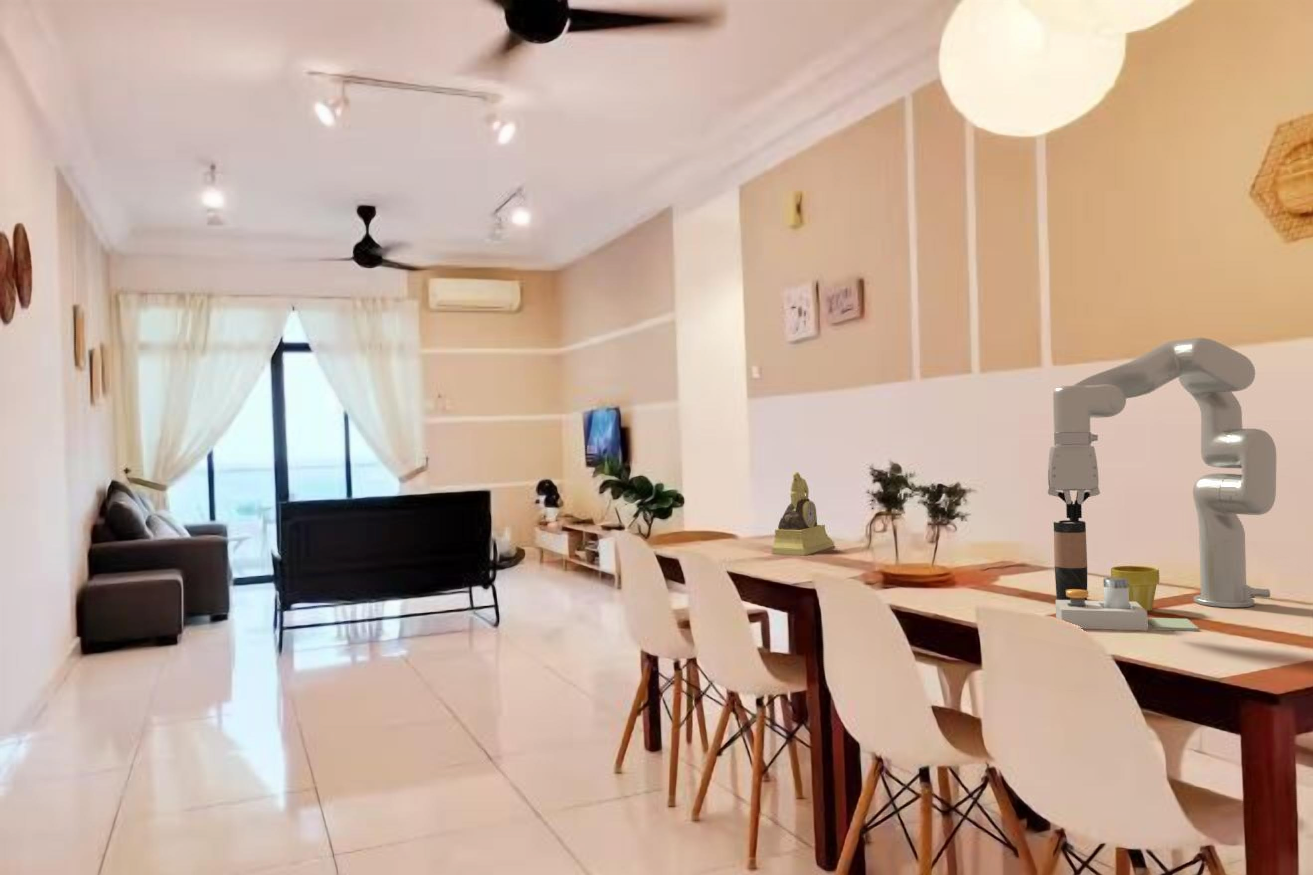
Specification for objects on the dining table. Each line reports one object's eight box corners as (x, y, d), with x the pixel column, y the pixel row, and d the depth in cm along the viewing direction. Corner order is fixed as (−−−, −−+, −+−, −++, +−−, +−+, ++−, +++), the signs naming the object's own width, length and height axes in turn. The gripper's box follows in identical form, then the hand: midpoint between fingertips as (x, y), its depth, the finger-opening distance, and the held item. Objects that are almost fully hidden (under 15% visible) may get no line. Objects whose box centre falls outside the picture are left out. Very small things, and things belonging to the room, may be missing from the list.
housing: (1136, 619, 208) (1136, 601, 208) (1147, 630, 197) (1147, 611, 197) (1056, 616, 214) (1055, 599, 214) (1061, 627, 202) (1061, 609, 202)
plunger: (1087, 607, 208) (1086, 589, 208) (1090, 611, 204) (1089, 592, 204) (1065, 607, 209) (1064, 588, 209) (1067, 611, 205) (1067, 592, 205)
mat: (1187, 621, 204) (1187, 618, 204) (1198, 630, 195) (1198, 628, 195) (1147, 620, 207) (1147, 617, 207) (1157, 629, 197) (1156, 626, 197)
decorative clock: (803, 555, 331) (801, 473, 331) (771, 554, 338) (769, 473, 338) (834, 546, 354) (831, 469, 354) (803, 545, 361) (801, 469, 361)
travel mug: (1091, 602, 229) (1089, 523, 229) (1059, 602, 230) (1056, 523, 230) (1084, 597, 236) (1081, 519, 236) (1052, 597, 238) (1050, 520, 238)
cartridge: (1127, 621, 206) (1126, 577, 206) (1131, 626, 201) (1130, 581, 201) (1103, 621, 207) (1101, 577, 207) (1106, 625, 203) (1105, 580, 202)
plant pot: (1102, 607, 222) (1101, 567, 222) (1132, 603, 226) (1131, 563, 226) (1139, 614, 213) (1138, 572, 213) (1170, 610, 217) (1169, 569, 217)
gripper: (1106, 439, 208) (1107, 520, 208) (1035, 440, 212) (1037, 519, 212) (1111, 439, 201) (1113, 523, 201) (1038, 441, 205) (1040, 522, 205)
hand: (1074, 521), depth 206 cm, fingers closed
